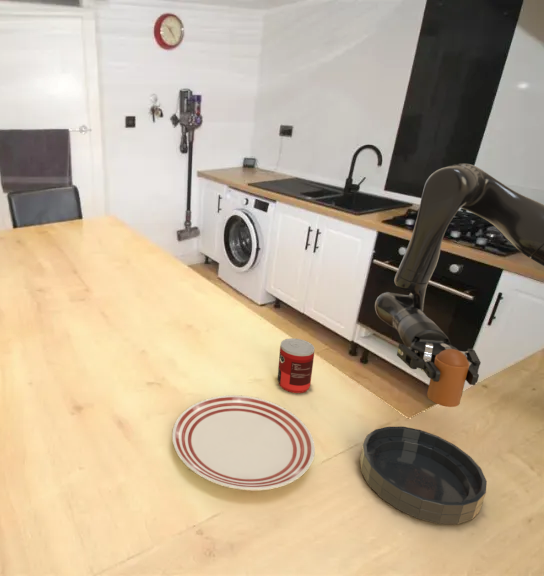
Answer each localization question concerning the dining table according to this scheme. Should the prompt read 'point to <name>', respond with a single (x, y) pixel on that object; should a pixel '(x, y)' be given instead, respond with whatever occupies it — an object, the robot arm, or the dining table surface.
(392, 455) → the shallow round tray
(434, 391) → the orange round-topped cylinder
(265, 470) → the dinner plate
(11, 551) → the dining table surface
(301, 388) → the canned food
